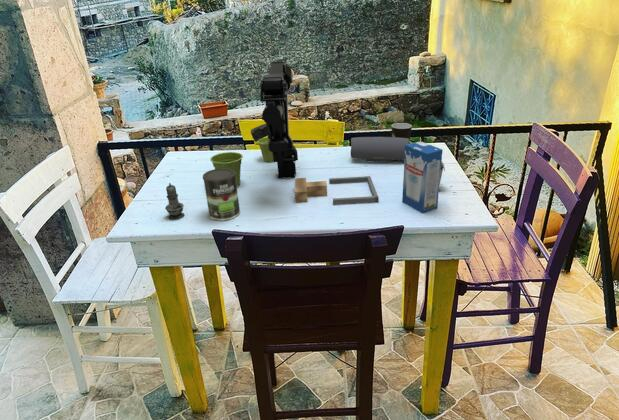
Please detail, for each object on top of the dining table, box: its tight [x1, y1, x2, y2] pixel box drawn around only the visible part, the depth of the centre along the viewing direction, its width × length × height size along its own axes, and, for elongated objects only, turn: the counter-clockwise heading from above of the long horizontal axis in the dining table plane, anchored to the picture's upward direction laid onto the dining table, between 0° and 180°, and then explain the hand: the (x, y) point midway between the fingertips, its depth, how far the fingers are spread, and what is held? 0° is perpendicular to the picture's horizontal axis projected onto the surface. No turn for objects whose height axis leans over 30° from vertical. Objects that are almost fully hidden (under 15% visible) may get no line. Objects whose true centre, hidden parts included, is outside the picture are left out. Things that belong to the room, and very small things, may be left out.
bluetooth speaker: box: [350, 136, 410, 163], centre depth 184 cm, size 23×9×10 cm, turn 80°
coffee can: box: [202, 168, 241, 222], centre depth 147 cm, size 10×10×14 cm
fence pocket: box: [328, 175, 380, 206], centre depth 159 cm, size 15×18×2 cm
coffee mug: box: [390, 122, 413, 141], centre depth 197 cm, size 12×9×10 cm
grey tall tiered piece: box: [164, 182, 185, 221], centre depth 147 cm, size 6×6×12 cm
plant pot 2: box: [256, 136, 275, 163], centre depth 191 cm, size 9×9×9 cm
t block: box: [294, 177, 328, 204], centre depth 159 cm, size 11×12×4 cm
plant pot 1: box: [209, 151, 244, 188], centre depth 168 cm, size 12×12×11 cm
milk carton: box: [401, 140, 443, 214], centre depth 144 cm, size 10×6×20 cm, turn 29°
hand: (279, 161), depth 153 cm, fingers open, 9 cm apart
